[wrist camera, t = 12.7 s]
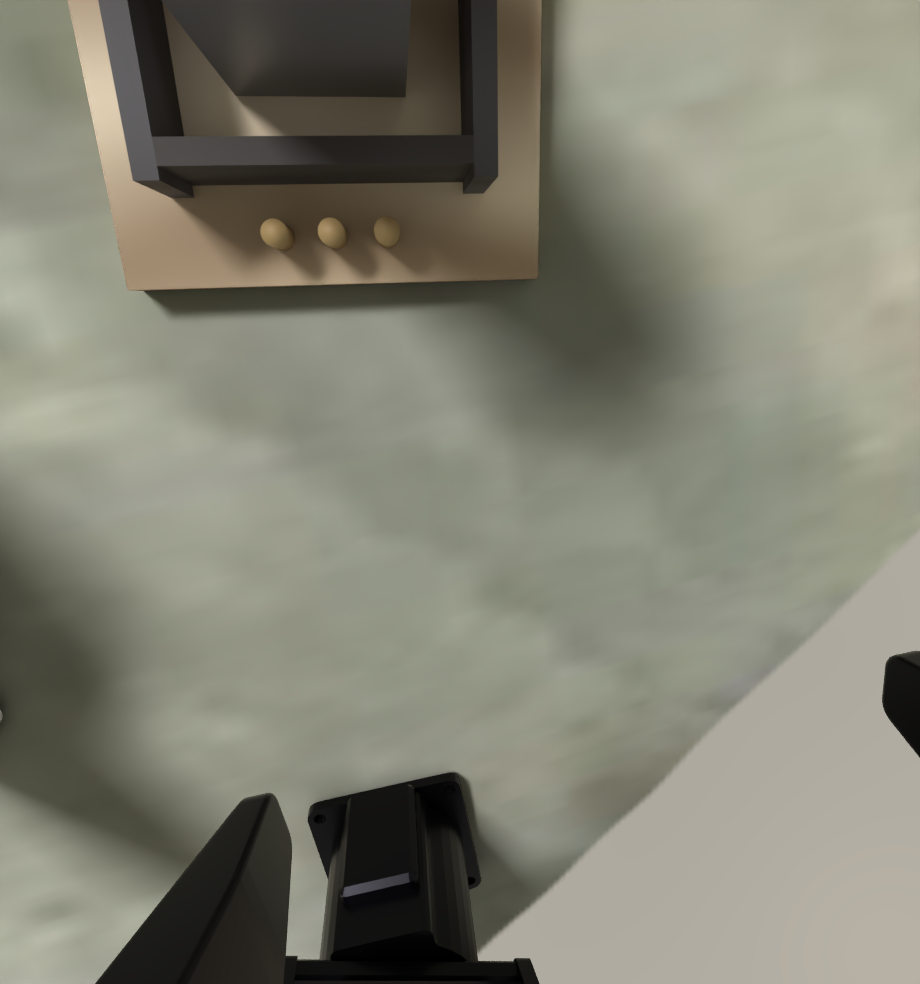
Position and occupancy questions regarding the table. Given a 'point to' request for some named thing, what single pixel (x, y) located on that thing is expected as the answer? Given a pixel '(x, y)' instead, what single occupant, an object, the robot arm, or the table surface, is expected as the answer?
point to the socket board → (319, 157)
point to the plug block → (302, 45)
